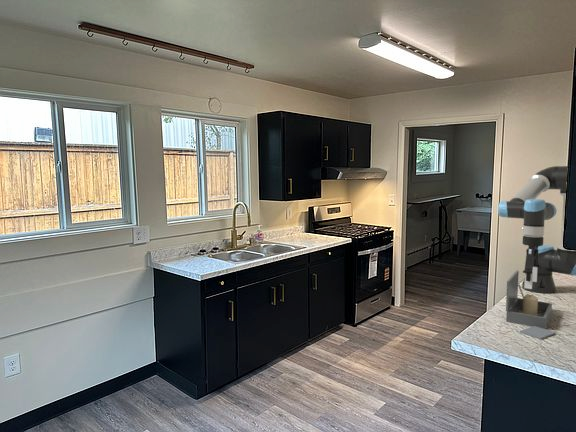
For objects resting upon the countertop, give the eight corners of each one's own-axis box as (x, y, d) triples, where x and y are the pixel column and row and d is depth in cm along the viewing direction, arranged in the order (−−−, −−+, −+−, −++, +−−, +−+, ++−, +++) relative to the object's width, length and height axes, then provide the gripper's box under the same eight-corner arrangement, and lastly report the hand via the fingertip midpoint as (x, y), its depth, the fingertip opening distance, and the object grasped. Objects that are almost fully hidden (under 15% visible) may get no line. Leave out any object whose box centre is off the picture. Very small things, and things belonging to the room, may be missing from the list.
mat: (534, 327, 163) (534, 325, 163) (555, 334, 156) (555, 332, 156) (519, 332, 158) (519, 330, 158) (540, 339, 151) (540, 338, 151)
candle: (519, 316, 175) (520, 294, 174) (527, 314, 177) (528, 292, 176) (531, 320, 170) (532, 297, 169) (539, 318, 172) (541, 295, 171)
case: (515, 306, 188) (516, 269, 186) (551, 312, 178) (553, 274, 177) (504, 321, 170) (506, 281, 168) (545, 329, 161) (547, 286, 159)
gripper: (527, 231, 182) (525, 277, 184) (517, 238, 163) (515, 290, 165) (547, 233, 177) (544, 280, 179) (539, 240, 158) (536, 293, 160)
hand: (530, 284), depth 172 cm, fingers open, 13 cm apart
